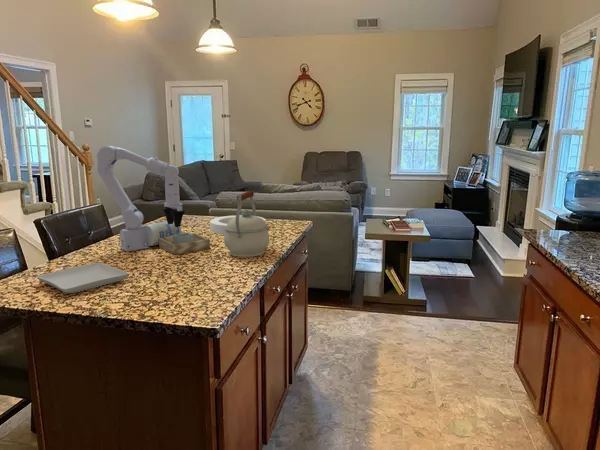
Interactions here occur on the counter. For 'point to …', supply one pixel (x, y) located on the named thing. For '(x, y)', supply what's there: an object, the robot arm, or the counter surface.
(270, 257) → the counter surface
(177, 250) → the square wooden tray
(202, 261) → the counter surface
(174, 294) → the counter surface
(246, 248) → the kettle
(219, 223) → the ring with crossbar
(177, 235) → the small crate
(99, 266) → the salad plate
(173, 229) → the supplement tub
